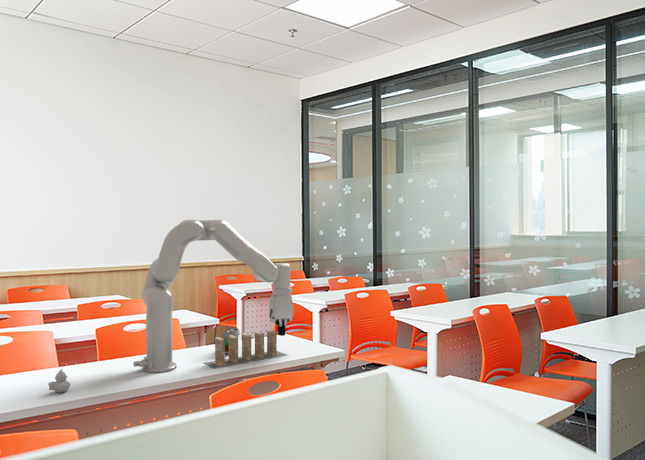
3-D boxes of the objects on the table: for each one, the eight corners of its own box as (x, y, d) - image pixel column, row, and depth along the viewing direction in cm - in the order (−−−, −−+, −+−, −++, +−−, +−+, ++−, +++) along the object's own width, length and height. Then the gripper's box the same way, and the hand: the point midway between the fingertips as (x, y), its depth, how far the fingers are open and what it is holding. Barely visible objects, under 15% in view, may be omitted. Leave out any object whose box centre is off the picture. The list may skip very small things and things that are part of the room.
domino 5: (273, 355, 228) (273, 332, 227) (267, 353, 232) (267, 330, 231) (276, 355, 229) (276, 331, 228) (270, 353, 233) (270, 329, 232)
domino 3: (248, 360, 220) (247, 335, 220) (241, 357, 224) (241, 333, 224) (251, 359, 221) (251, 335, 221) (245, 357, 225) (245, 333, 225)
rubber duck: (71, 392, 181) (71, 368, 181) (49, 396, 177) (49, 371, 177) (68, 388, 186) (68, 365, 185) (47, 392, 182) (46, 368, 182)
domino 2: (234, 362, 217) (234, 337, 217) (228, 360, 221) (228, 335, 221) (238, 362, 218) (238, 337, 218) (232, 359, 222) (232, 335, 222)
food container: (237, 356, 228) (237, 332, 228) (222, 356, 229) (222, 332, 228) (242, 349, 241) (242, 326, 241) (228, 349, 241) (228, 326, 241)
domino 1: (221, 365, 213) (220, 339, 213) (215, 362, 217) (215, 337, 217) (224, 364, 214) (224, 339, 214) (218, 361, 218) (218, 336, 218)
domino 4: (260, 358, 224) (260, 333, 224) (254, 355, 228) (254, 331, 228) (264, 357, 225) (264, 333, 225) (258, 355, 229) (257, 331, 229)
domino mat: (213, 369, 209) (213, 368, 209) (202, 364, 217) (202, 362, 217) (288, 355, 229) (288, 354, 229) (275, 351, 237) (275, 350, 237)
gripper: (291, 289, 240) (291, 331, 240) (261, 292, 231) (261, 335, 231) (300, 291, 234) (301, 334, 234) (271, 294, 225) (271, 339, 225)
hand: (281, 335), depth 233 cm, fingers closed
